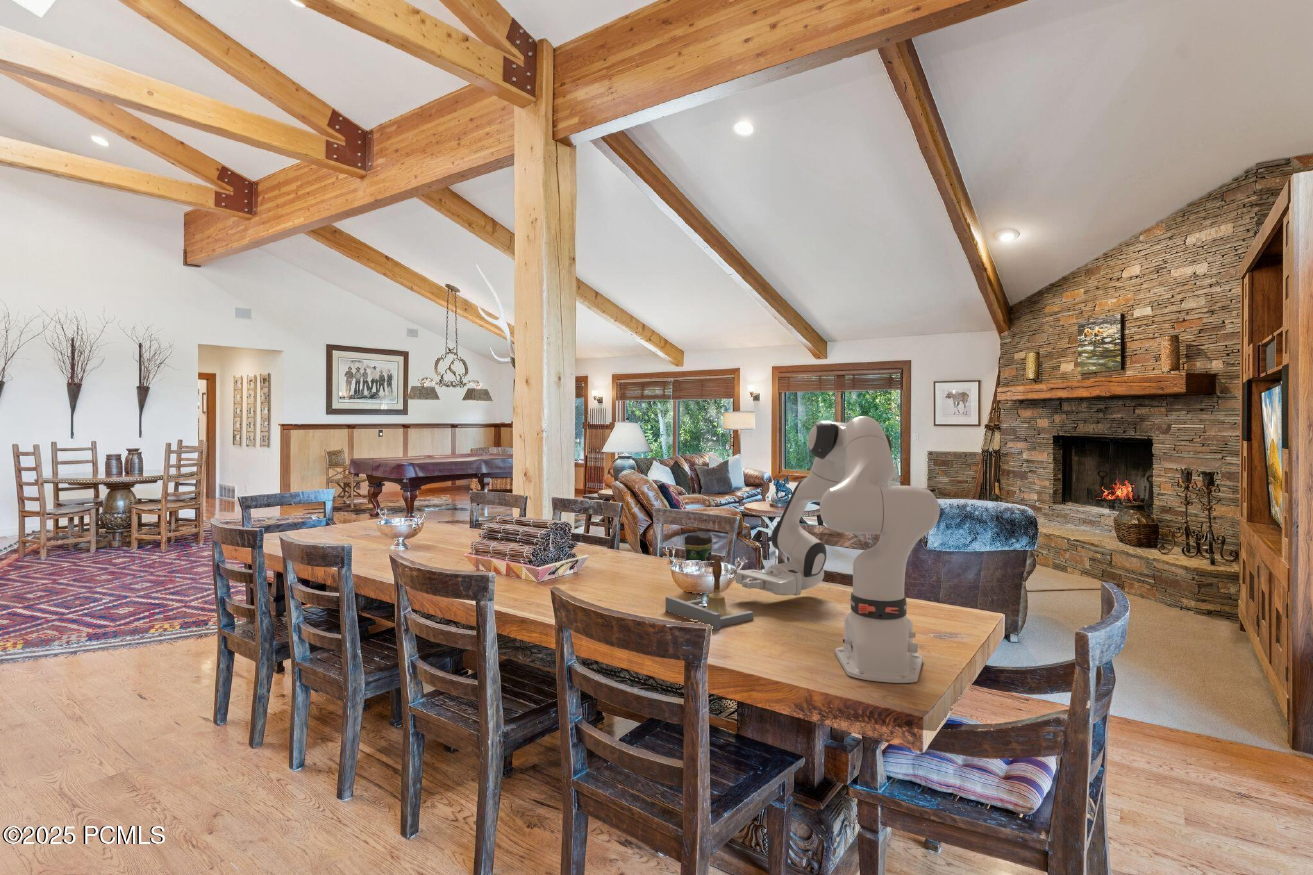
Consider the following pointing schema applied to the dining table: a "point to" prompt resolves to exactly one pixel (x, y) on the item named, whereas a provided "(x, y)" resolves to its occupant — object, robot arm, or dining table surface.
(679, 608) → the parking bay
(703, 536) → the coffee jar
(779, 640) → the dining table surface
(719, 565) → the hand bell
